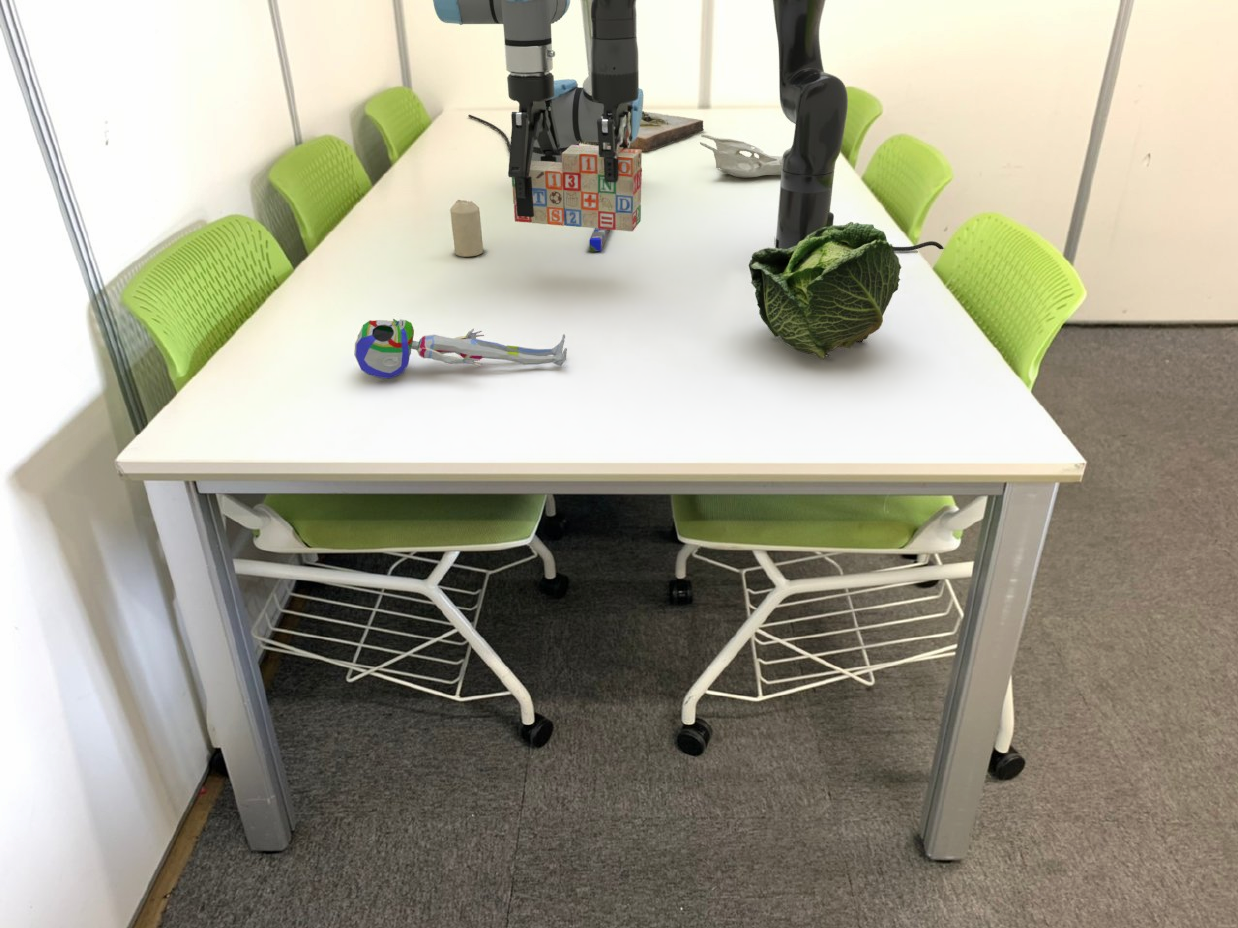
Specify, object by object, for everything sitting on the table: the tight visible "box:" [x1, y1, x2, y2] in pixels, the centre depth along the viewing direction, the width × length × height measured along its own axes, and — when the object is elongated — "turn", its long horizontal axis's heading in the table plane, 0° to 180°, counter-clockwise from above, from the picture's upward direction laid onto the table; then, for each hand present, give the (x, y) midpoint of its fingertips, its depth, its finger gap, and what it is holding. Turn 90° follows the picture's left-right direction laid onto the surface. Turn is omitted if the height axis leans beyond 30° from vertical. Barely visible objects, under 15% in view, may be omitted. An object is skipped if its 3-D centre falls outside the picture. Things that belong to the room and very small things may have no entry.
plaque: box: [584, 110, 705, 152], centre depth 257 cm, size 30×7×30 cm
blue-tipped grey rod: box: [588, 228, 610, 252], centre depth 182 cm, size 2×2×20 cm
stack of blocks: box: [511, 144, 643, 232], centre depth 152 cm, size 21×6×12 cm, turn 75°
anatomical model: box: [699, 133, 783, 178], centre depth 218 cm, size 15×9×25 cm
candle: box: [449, 199, 484, 258], centre depth 172 cm, size 6×6×10 cm
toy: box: [353, 318, 568, 379], centre depth 130 cm, size 10×8×30 cm
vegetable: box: [748, 221, 902, 360], centre depth 132 cm, size 20×19×20 cm
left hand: (538, 205), depth 156 cm, fingers open, 13 cm apart
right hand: (616, 176), depth 150 cm, fingers closed on stack of blocks, 6 cm apart
